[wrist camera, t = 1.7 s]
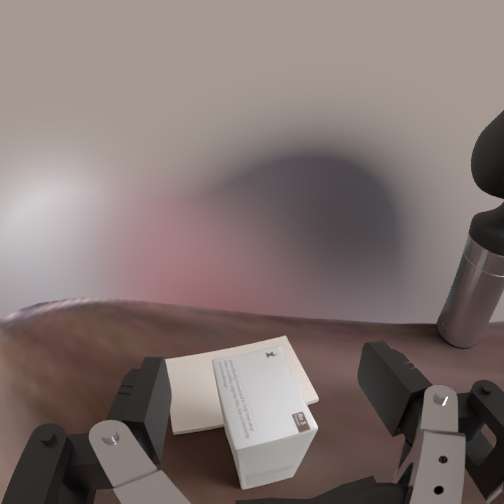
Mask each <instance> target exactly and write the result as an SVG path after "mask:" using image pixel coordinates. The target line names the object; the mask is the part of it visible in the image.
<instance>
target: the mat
mask: <svg viewBox="0 0 504 504" xmlns="http://www.w3.org/2000/svg"><path fill="white" fill-rule="evenodd" d="M275 346H280V347H281V348H282V351H283V354H284V357H285V359H286V362H287V364H288V366H289V369H290V371H291V373H292V374H293V375H294V376H295V377H296V379H297V380H298V382H299V384H300V387H301V394H302V396H303V398H304V400H305V402H306V404H307V405H310V404H313V403H316V402H318V400H319V398H318V396H317V394H316V392H315V390H314V388H313V386H312V385H311V383H310V381H309V379H308V377H307V375H306V373H305V371H304V369H303V368H302V366H301V364H300V362H299V360H298V358H297V356H296V354H295V352H294V350H293V349H292V347H291V345H290V343H289V341H288V339H287V337H286V336H282V337H278V338H274V339H270V340H266V341H261V342H257V343H252V344H248V345H243V346H238V347H233V348H228V349H223V350H218V351H213V352H207V353H202V354H196V355H190V356H184V357H178V358H171V359H165V361H166V366H167V371H168V376H169V380H170V385H171V391H172V401H171V407H170V415H171V423H172V430H173V433H174V435H177V434H184V433H191V432H198V431H204V430H210V429H215V428H221V427H224V422H223V416H222V412H221V406H220V401H219V396H218V391H217V386H216V381H215V375H214V370H213V364H212V360H213V359H216V358H222V357H228V356H234V355H240V354H245V353H249V352H254V351H258V350H263V349H267V348H271V347H275Z"/></svg>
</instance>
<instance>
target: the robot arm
mask: <svg viewBox="0 0 504 504" xmlns="http://www.w3.org/2000/svg"><path fill="white" fill-rule="evenodd" d="M471 171H472V175H473V178H474V181H475V183H476V184H477V186H478V187H479V188H480V189H481V190H482V191H484V192H486V193H488V194H490V195H492V196H496V197H499V198H502V199H504V110H503V112H501V113H500V115H498V116H497V118H495V119H494V120H493V121H492V122H491V123H490V124H489V125H488V126H487V127H486V128H485V129H484V130H483V131H482V133H481V134H480V136H479V137H478V140H477V141H476V144H475V147H474V149H473V153H472V158H471ZM503 291H504V202H503V203H502V204H501V205H500V206H499V207H497V208H496V209H493V210H490V211H486V212H481V213H478V214H476V215H475V216H474V217H473V219H472V222H471V225H470V229H469V233H468V237H467V240H466V244H465V247H464V251H463V254H462V258H461V261H460V264H459V267H458V270H457V273H456V276H455V278H454V281H453V284H452V286H451V289H450V292H449V295H448V297H447V299H446V302H445V304H444V307H443V309H442V312H441V314H440V316H439V318H438V321H437V328H438V331H439V333H440V335H441V336H442V337H443V338H444V339H445V340H446V341H447V342H449V343H450V344H452V345H454V346H456V347H460V348H470V347H472V346H474V345H475V344H476V343H477V342H478V340H479V338H480V337H481V335H482V333H483V331H484V329H485V328H486V326H487V324H488V322H489V320H490V318H491V316H492V314H493V312H494V310H495V308H496V306H497V304H498V302H499V300H500V297H501V295H502V293H503ZM358 382H359V385H360V387H361V389H362V390H363V392H364V393H365V395H366V396H367V398H368V399H369V401H370V402H371V404H372V406H373V407H374V409H375V410H376V412H377V413H378V415H379V417H380V418H381V420H382V421H383V423H384V424H385V426H386V428H387V429H388V431H389V432H390V434H391V435H392V437H393V436H396V435H399V434H402V433H403V434H404V435H405V437H404V439H403V441H402V445H401V450H400V454H399V457H398V461H397V465H396V468H395V472H394V475H393V478H392V480H391V482H390V483H376V481H375V479H374V477H373V476H370V477H367V478H364V479H360V480H357V481H354V482H350V483H346V484H343V485H341V486H339V487H336V488H334V489H332V490H330V491H328V492H326V493H324V494H321V495H319V496H317V497H315V498H312V499H285V498H264V499H253V500H237V501H236V504H461V498H462V490H463V481H464V468H466V470H467V471H468V473H469V474H470V476H471V478H472V479H473V481H474V482H475V484H476V485H477V487H478V489H479V490H480V492H481V493H482V495H483V497H484V498H485V500H486V504H504V392H503V391H502V390H501V389H500V388H499V387H498V386H497V385H496V384H494V383H492V382H490V381H487V380H480V381H477V382H475V383H474V385H473V387H472V389H471V391H470V392H468V393H461V394H456V393H455V392H454V391H453V390H452V389H451V388H449V387H447V386H443V385H434V386H433V385H432V384H431V383H430V382H429V381H428V380H427V379H426V378H425V377H424V375H423V374H422V373H421V372H420V371H419V370H418V369H417V368H415V366H414V365H413V364H412V363H410V361H409V360H408V359H407V358H406V357H405V356H404V355H403V354H402V353H400V352H398V351H396V350H394V349H391V348H390V347H389V346H388V345H387V344H386V343H385V342H384V341H382V340H380V341H374V342H368V343H365V344H364V346H363V350H362V355H361V360H360V364H359V369H358ZM171 401H172V391H171V385H170V380H169V376H168V371H167V366H166V361H165V358H164V357H145V358H144V360H143V363H142V366H141V368H140V369H132V370H131V371H130V372H129V373H128V374H127V375H125V377H124V379H123V381H122V384H121V387H120V388H119V391H118V394H117V395H116V398H115V400H114V402H113V405H112V407H111V410H110V412H109V415H108V417H107V420H106V421H102V422H99V423H98V424H96V425H95V426H93V428H92V429H91V430H90V433H87V434H73V435H67V434H66V433H65V431H64V429H63V428H62V427H60V426H58V425H56V424H44V425H41V426H39V427H37V428H36V429H35V430H34V431H33V433H32V434H31V436H30V438H29V440H28V442H27V445H26V447H25V449H24V451H23V453H22V455H21V457H20V460H19V462H18V464H17V466H16V468H15V471H14V473H13V475H12V478H11V480H10V483H9V485H8V488H7V490H6V493H5V495H4V498H3V501H2V504H93V503H94V498H95V493H96V489H110V488H113V490H114V492H115V494H116V495H117V497H118V499H119V500H120V502H121V503H122V504H191V503H190V502H189V501H188V500H187V499H186V498H185V497H184V496H183V494H182V493H181V492H180V491H179V490H178V489H177V488H176V486H175V485H174V484H173V483H172V482H171V481H170V479H169V478H168V477H167V476H166V475H165V473H164V472H163V471H162V470H161V469H160V468H159V469H157V468H156V466H155V465H154V464H161V460H162V454H163V448H164V442H165V436H166V430H167V424H168V418H169V413H170V407H171ZM485 423H486V425H487V426H488V427H489V428H490V429H491V431H492V432H493V433H494V434H495V436H496V439H497V442H496V445H495V447H494V448H493V447H492V445H491V444H490V443H489V442H488V440H487V439H486V438H485V436H484V435H483V434H482V433H481V431H480V430H481V429H482V427H483V425H484V424H485Z"/></svg>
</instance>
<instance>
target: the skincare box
mask: <svg viewBox="0 0 504 504" xmlns="http://www.w3.org/2000/svg"><path fill="white" fill-rule="evenodd" d="M212 364H213V370H214V375H215V381H216V386H217V391H218V396H219V401H220V406H221V412H222V416H223V422H224V427H225V432H226V436H227V439H228V441H229V444H230V448H231V451H232V454H233V458H234V461H235V465H236V469H237V473H238V476H239V481H240V485H241V489H248V488H252V487H257V486H261V485H265V484H269V483H273V482H276V481H280V480H284V479H287V478H291V477H293V476H294V474H295V472H296V470H297V468H298V467H299V465H300V463H301V461H302V459H303V457H304V455H305V453H306V451H307V449H308V447H309V445H310V443H311V442H312V440H313V438H314V436H315V433H316V431H317V429H318V426H317V424H316V422H315V420H314V418H313V416H312V414H311V413H310V411H309V409H308V407H307V404H306V402H305V400H304V398H303V396H302V394H301V387H300V384H299V382H298V380H297V379H296V377H295V376H294V375H293V374H292V373H291V371H290V369H289V366H288V364H287V362H286V359H285V357H284V354H283V351H282V348H281V347H280V346H275V347H271V348H267V349H263V350H258V351H254V352H249V353H245V354H240V355H234V356H228V357H222V358H216V359H213V360H212Z"/></svg>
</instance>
